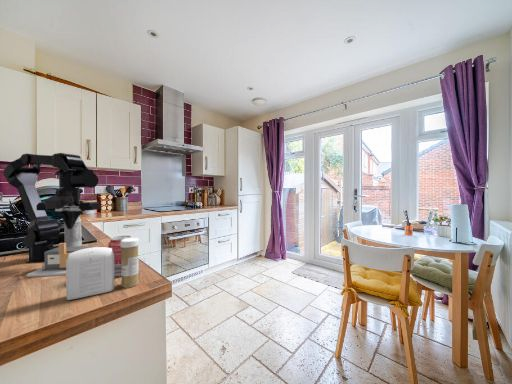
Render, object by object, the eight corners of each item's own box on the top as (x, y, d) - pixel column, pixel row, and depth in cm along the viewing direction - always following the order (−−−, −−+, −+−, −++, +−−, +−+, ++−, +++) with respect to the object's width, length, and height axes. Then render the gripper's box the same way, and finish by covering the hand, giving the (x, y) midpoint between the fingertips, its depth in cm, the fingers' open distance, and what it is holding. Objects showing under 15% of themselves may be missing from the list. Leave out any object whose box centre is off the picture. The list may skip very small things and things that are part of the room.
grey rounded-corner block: (114, 285, 62) (114, 243, 62) (114, 291, 58) (114, 246, 58) (68, 295, 56) (67, 249, 56) (64, 302, 53) (63, 253, 53)
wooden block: (59, 268, 71) (58, 243, 71) (61, 267, 72) (60, 243, 72) (75, 267, 72) (75, 243, 72) (77, 266, 73) (77, 242, 72)
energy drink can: (77, 246, 103) (76, 215, 102) (84, 248, 100) (84, 216, 100) (61, 249, 97) (61, 217, 97) (69, 251, 95) (68, 217, 94)
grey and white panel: (26, 276, 68) (26, 255, 68) (58, 262, 81) (57, 244, 81) (89, 273, 70) (88, 253, 70) (110, 260, 83) (109, 243, 83)
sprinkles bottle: (118, 285, 62) (118, 239, 62) (135, 280, 66) (135, 236, 65) (124, 290, 59) (123, 242, 59) (141, 284, 63) (141, 239, 63)
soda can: (130, 267, 76) (130, 234, 75) (136, 273, 71) (136, 237, 70) (106, 273, 71) (105, 237, 70) (111, 280, 66) (110, 241, 65)
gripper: (20, 187, 71) (21, 233, 72) (80, 187, 73) (80, 233, 73) (49, 187, 82) (50, 227, 83) (101, 187, 84) (101, 227, 84)
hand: (69, 228), depth 80 cm, fingers closed
